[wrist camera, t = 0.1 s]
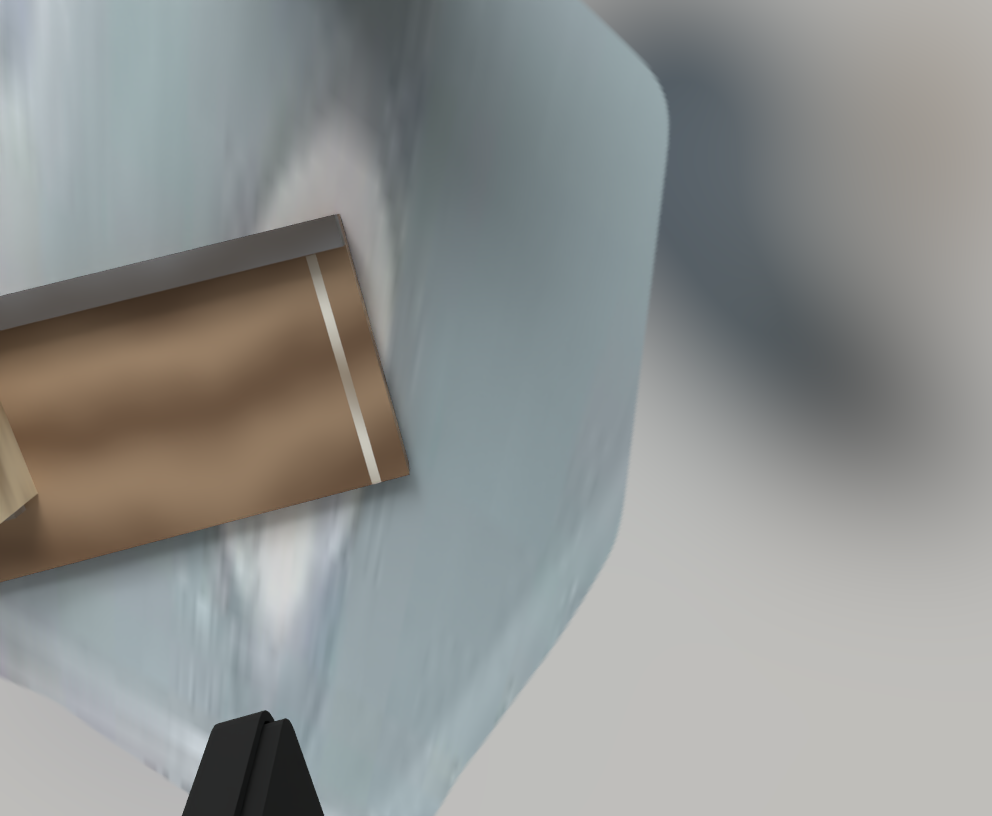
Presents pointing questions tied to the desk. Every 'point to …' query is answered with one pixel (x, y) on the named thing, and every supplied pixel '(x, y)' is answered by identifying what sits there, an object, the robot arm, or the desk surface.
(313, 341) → the walnut board
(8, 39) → the desk surface
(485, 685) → the desk surface
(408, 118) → the desk surface
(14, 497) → the block
